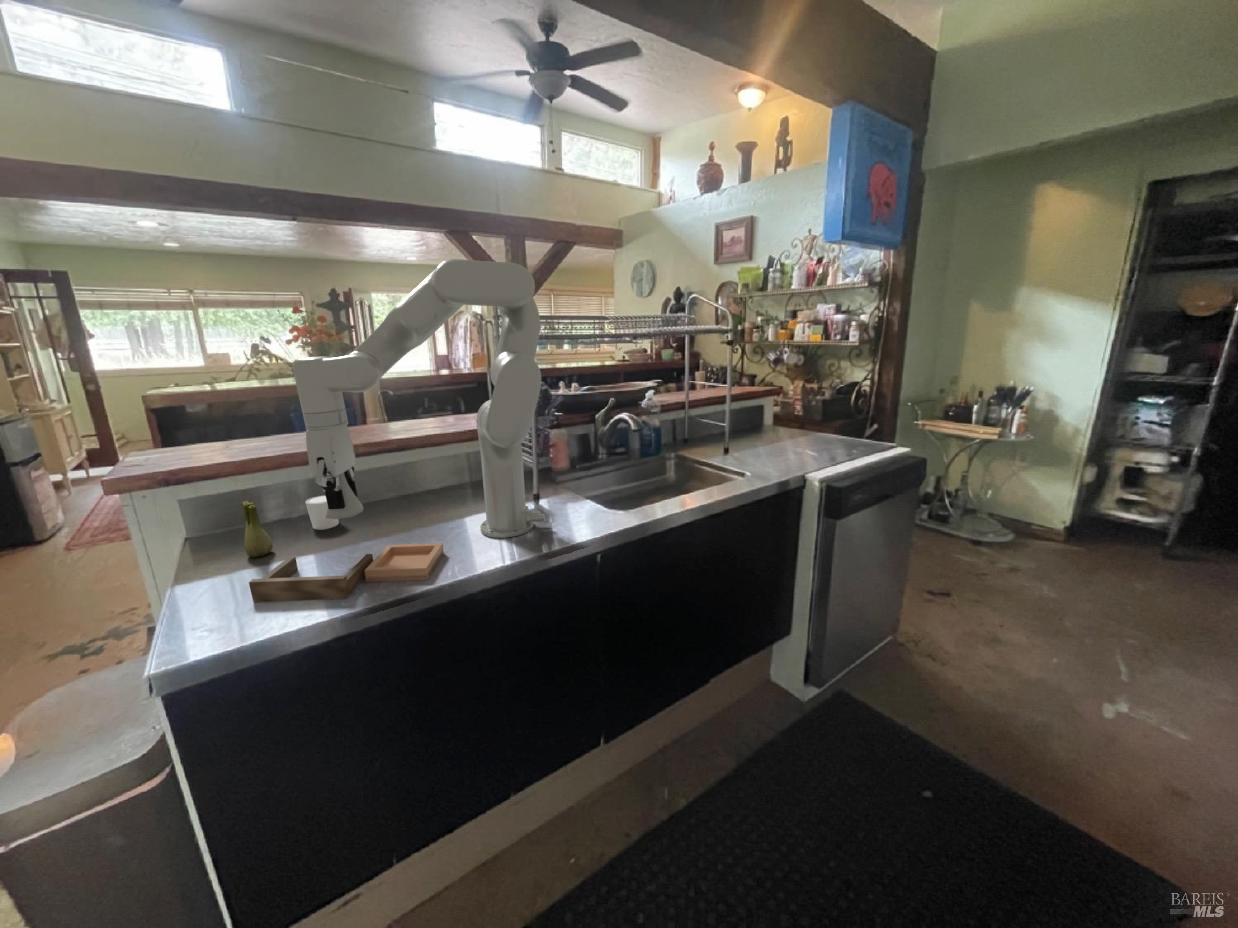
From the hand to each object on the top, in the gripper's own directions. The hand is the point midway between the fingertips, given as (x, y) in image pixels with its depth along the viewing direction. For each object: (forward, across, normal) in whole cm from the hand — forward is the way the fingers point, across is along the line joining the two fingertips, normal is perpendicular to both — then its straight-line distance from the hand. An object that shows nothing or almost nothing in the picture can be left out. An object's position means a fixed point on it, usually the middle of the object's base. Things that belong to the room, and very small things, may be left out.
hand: (343, 502), depth 105 cm
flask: (+3, 0, 0) cm, 3 cm away
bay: (+12, +13, -1) cm, 18 cm away
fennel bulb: (+12, -2, -21) cm, 24 cm away
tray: (+12, +7, +14) cm, 20 cm away
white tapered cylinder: (+12, -18, -15) cm, 26 cm away
